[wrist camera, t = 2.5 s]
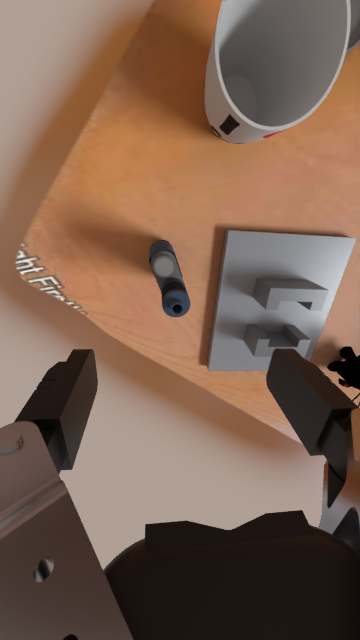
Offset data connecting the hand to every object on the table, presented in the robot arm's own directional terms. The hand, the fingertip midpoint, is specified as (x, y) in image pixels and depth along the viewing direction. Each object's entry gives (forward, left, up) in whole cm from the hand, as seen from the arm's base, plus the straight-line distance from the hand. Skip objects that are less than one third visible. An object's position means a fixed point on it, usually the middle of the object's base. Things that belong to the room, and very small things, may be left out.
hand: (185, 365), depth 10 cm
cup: (-15, +6, -21) cm, 26 cm away
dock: (+6, +15, -20) cm, 26 cm away
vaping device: (0, 0, -21) cm, 21 cm away
